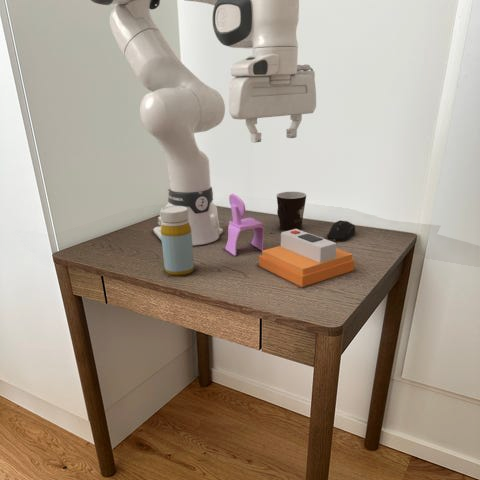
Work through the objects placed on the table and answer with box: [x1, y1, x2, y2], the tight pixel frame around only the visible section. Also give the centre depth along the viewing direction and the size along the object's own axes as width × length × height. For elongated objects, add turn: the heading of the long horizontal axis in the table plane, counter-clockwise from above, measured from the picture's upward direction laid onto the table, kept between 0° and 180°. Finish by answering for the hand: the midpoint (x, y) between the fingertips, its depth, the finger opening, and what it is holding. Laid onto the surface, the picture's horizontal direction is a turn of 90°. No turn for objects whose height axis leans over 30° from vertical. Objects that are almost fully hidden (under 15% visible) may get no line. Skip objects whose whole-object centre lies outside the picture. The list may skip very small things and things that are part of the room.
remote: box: [280, 229, 338, 263], centre depth 107 cm, size 14×5×4 cm, turn 34°
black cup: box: [276, 191, 307, 232], centre depth 135 cm, size 12×9×10 cm
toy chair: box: [224, 193, 265, 257], centre depth 119 cm, size 8×9×15 cm
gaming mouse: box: [327, 220, 356, 243], centre depth 129 cm, size 6×15×4 cm, turn 152°
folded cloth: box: [258, 245, 356, 288], centre depth 109 cm, size 16×16×4 cm
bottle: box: [159, 206, 195, 277], centre depth 107 cm, size 7×7×15 cm
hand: (274, 139), depth 97 cm, fingers open, 8 cm apart
